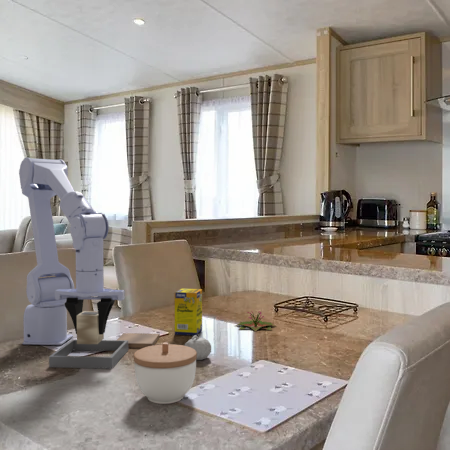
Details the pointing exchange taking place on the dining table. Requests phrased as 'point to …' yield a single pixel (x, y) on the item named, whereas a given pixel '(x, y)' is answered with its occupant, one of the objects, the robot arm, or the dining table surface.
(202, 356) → the garlic
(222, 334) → the dining table surface
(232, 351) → the dining table surface
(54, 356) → the bin
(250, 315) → the lily flower
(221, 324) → the dining table surface
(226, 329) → the dining table surface
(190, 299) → the supplement box
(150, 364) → the lidded jar
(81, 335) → the box
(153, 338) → the coaster
